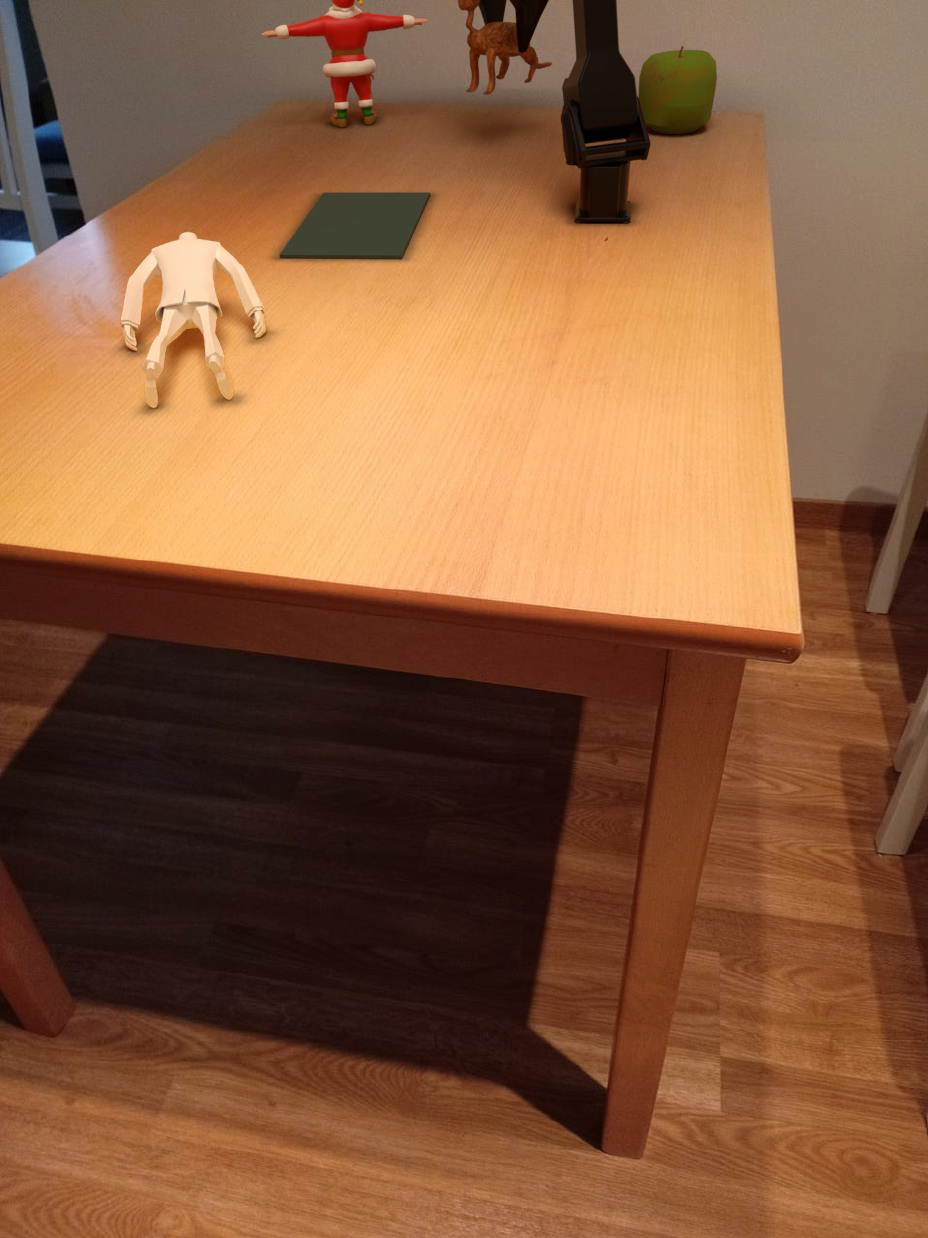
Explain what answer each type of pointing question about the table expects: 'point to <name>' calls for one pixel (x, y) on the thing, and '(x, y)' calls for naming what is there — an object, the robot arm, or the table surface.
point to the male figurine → (187, 303)
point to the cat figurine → (495, 48)
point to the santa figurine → (347, 51)
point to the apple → (677, 90)
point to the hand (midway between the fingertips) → (508, 48)
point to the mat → (358, 226)
